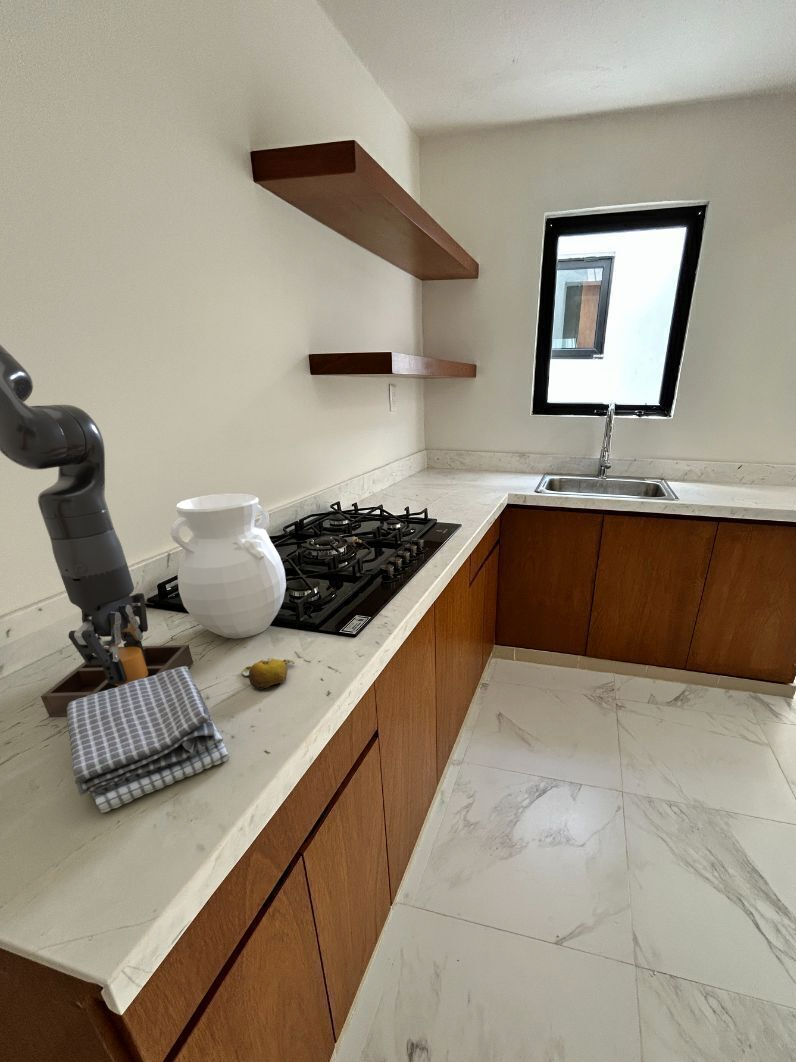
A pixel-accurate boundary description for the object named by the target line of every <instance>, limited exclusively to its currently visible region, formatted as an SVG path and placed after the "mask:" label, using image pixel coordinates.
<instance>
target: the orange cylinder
mask: <svg viewBox="0 0 796 1062" xmlns="http://www.w3.org/2000/svg"><path fill="white" fill-rule="evenodd" d="M118 650H119V659H121V662H122V665H123V668H124V671H125V674H126V677H127V681H126V682H125V683H124V684H114V685H117V686H122V685H125V684H127V683H129V682H132V681H136V680H138V679H142V678H146V677H147V675H148V670H147V667H146V664H145V660H144V657H143V654H142V651H141V649H140V648H139V647H125V648H121V649H118Z"/></svg>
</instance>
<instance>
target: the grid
mask: <svg viewBox="0 0 796 1062" xmlns="http://www.w3.org/2000/svg"><path fill="white" fill-rule="evenodd" d="M142 646H143V649H144V652H145V657H146V662H145V664H146V667H147V670H148V675H147V677H150V676H155V675H156V674H158V673H161V672H164V671H166V670H173V669H174V668H177V667H183V666H187V667H188V669H189V670H190V667H192V666H193V664H194V660H193V656H192V652H191V648H190V645H189V644H168V645H166V644H164V645H163V644H162V645H161V644H159V645H142ZM121 648H124V646H118V649H121ZM104 649H105V651H106V652H107V654H108V653H110V651H109V647H108V646H104ZM93 655H94V656H95V654H93ZM147 677H146V678H147ZM117 687H118V686H117V685H114V684H110V683H109V682H108V681H107V678H106V674H105V672H104V670H103V667H102V665H87V663H86V662H85V661H84V662H82V663H81V664H80V665H78V666H77V667H76V668H75V669H74V670H72V671H71V672H69V673H68V674H66V676H64V677H63V678H62V679H61V680H60V681H58V682H57V683H56V684H54V685H53V686H52V687H50V688H49V689H48V690H47V691H45V692H44V693H43V694H41V696H40V699H41V701H42V703H43V705H44V708H45V711H46V713H47V715H48V717H49V718H62V717H63V718H64V717H67V707H68V704H69V703H70V702H71V701H75V700H77V699H79V698H83V697H87V696H88V695H92V694H97V693H98V692H102V691H107V690H109V689H113V688H117Z"/></svg>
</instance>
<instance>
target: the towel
mask: <svg viewBox="0 0 796 1062" xmlns="http://www.w3.org/2000/svg"><path fill="white" fill-rule="evenodd" d="M192 677H193V676H192V675H191V672H190V668H189V669H188V667H187V666H183V667H177V668H174V669H173V670H166V671H164V672H161V673H158V674H156V675H155V676H150V677H147V678H142V679H138V680H136V681H132V682H129V683H127V684H125V685H122V686H118V687H117V688H113V689H109V690H107V691H102V692H98V693H97V694H92V695H88V696H87V697H83V698H79V699H77V700H75V701H71V702H70V703H69V704H68V707H67V716H66V717H67V728H68V729H67V730H68V736H69V741H70V742H69V743H70V752H71V767H72V774H73V776H74V779H75V780H74V784H76V785H77V791H78V794H79V796H84V795H87V794H91V795H92V797H93V799H94V801H95V805H96V806H97V808H98V809H99V812H100V814H104V813H106V812H109V811H111V810H112V809H117V808H119V807H121V806H122V805H124V804H125V805H126V804H128V803H131V802H132V801H134V800H135V799H138V798H140V797H142V796H144V795H147V794H150V793H153V792H155V791H157V790H161V789H163V788H164V787H166V786H169V785H173V784H174V783H175V782H177V781H181V780H183V779H185V778H186V777H192V776H193V775H195V774H199V773H202V772H203V770H206V769H207V770H208V769H210V768H211V767H212V766H217V765H220V764H221V763H224V762H227V761H228V760H229V759H230V753H229V752H228V751H227V747H226V745H225V743H224V738H223V737H222V735H221V733H220V732H219V730H218V729H217V727H216V725H215V723H214V721H213V719H212V718H211V714H210V711H209V708H208V706H207V704H206V702H205V700H204V697H203V696H202V693H201V691H200V690H199V688H198V686H197V685H196V682H195V680H194V679H193V678H192Z"/></svg>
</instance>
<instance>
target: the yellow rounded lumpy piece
mask: <svg viewBox="0 0 796 1062" xmlns="http://www.w3.org/2000/svg"><path fill="white" fill-rule="evenodd" d="M287 664H292V665H294V664H295V661H294V660H292V659H286V658H285V659H283V660H282V659H279V658H278V659H277V658H267V659H262V660H260V661H258V662H256V663H255V662H254V663H253V664H252V665H248V666H246V667H244V668H243V669H242V671H241V675H243V676H244V677H247V676H248V681H249V684H250V686H251V687H253V688H254V689H255V690H257V691H261V690H264V689H266V688H267V689H268V688H270V687H271V686H273V685H278V684H280V685H282V684H283V683H284V682H286V681H287V677H288V668H287V667H288V666H287Z"/></svg>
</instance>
